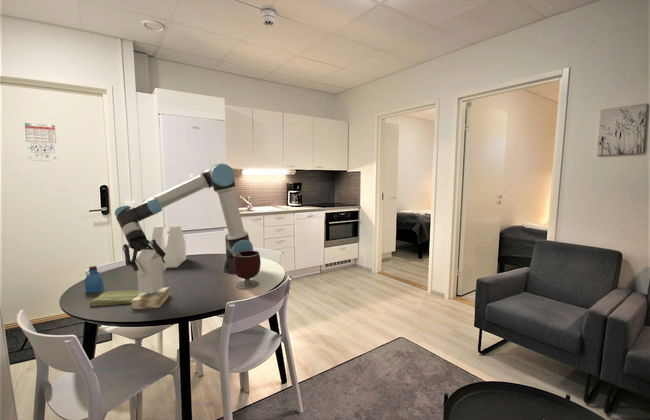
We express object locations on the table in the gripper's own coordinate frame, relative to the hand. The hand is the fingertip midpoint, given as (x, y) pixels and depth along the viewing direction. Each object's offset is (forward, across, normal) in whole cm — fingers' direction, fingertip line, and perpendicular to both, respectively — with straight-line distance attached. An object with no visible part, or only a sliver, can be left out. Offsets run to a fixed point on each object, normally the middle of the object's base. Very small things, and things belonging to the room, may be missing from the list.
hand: (153, 272), depth 136 cm
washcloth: (-3, +8, -24) cm, 25 cm away
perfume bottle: (-19, +9, -40) cm, 45 cm away
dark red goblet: (+22, -39, +1) cm, 44 cm away
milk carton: (+4, 0, -9) cm, 10 cm away
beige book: (+8, 0, -12) cm, 15 cm away
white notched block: (-30, -37, -51) cm, 70 cm away
